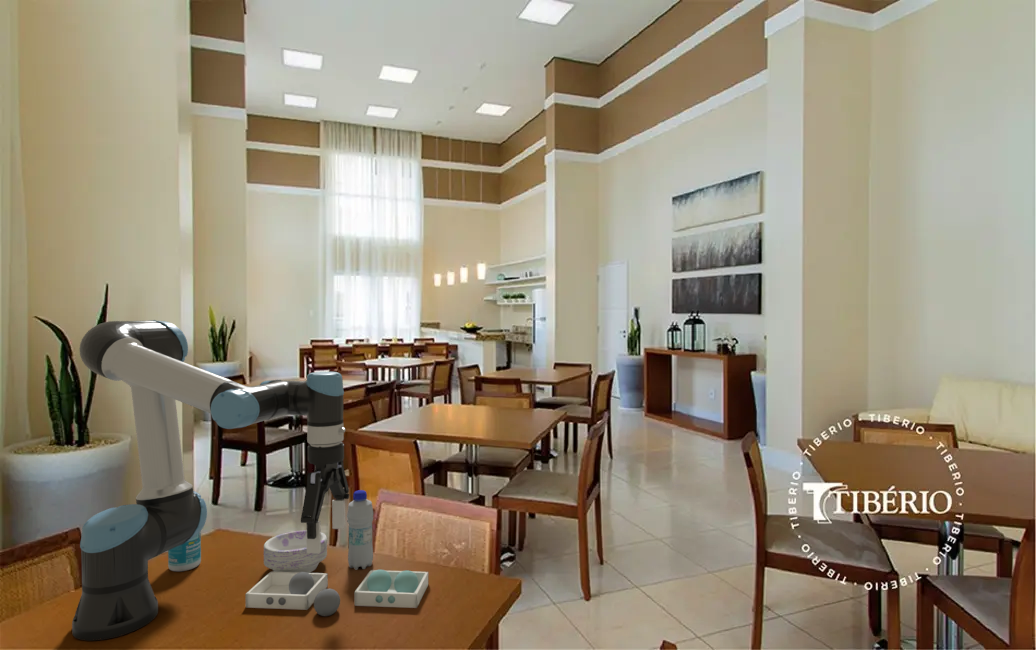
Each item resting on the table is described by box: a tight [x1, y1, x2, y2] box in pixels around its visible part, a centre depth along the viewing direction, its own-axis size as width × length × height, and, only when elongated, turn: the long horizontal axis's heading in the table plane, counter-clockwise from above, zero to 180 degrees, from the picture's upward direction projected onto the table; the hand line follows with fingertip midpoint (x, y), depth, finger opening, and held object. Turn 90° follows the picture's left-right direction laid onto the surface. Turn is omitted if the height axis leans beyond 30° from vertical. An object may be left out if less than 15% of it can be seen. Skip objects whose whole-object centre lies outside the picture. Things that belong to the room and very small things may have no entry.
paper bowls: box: [263, 529, 328, 573], centre depth 149 cm, size 15×15×8 cm
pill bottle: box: [167, 530, 202, 572], centre depth 151 cm, size 8×7×14 cm
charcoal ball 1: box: [289, 572, 314, 595], centre depth 134 cm, size 6×6×6 cm
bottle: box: [346, 489, 375, 571], centre depth 151 cm, size 7×7×20 cm
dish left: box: [245, 571, 329, 611], centre depth 134 cm, size 14×12×4 cm
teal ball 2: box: [394, 569, 418, 593], centre depth 135 cm, size 6×6×6 cm
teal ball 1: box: [367, 568, 391, 592], centre depth 135 cm, size 6×6×6 cm
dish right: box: [353, 569, 429, 609], centre depth 135 cm, size 14×11×4 cm
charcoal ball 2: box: [313, 588, 341, 617], centre depth 127 cm, size 6×6×6 cm
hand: (327, 540), depth 127 cm, fingers open, 13 cm apart
